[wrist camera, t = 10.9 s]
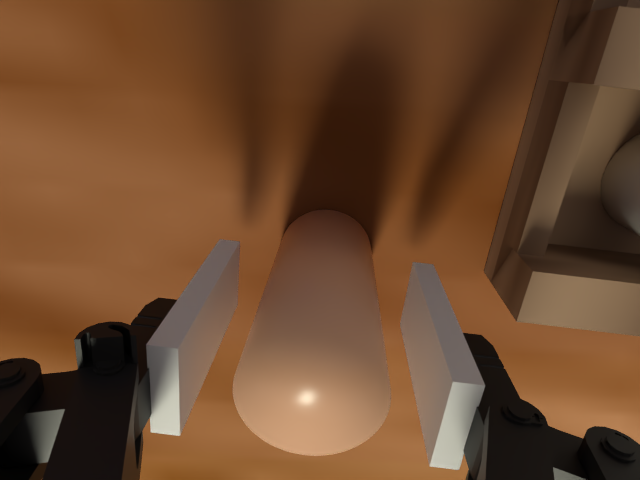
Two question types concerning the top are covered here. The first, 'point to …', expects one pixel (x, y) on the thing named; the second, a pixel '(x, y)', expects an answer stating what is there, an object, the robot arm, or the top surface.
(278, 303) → the plug terracotta
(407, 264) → the top surface
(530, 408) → the robot arm
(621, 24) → the comb rack
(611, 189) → the plug grey
